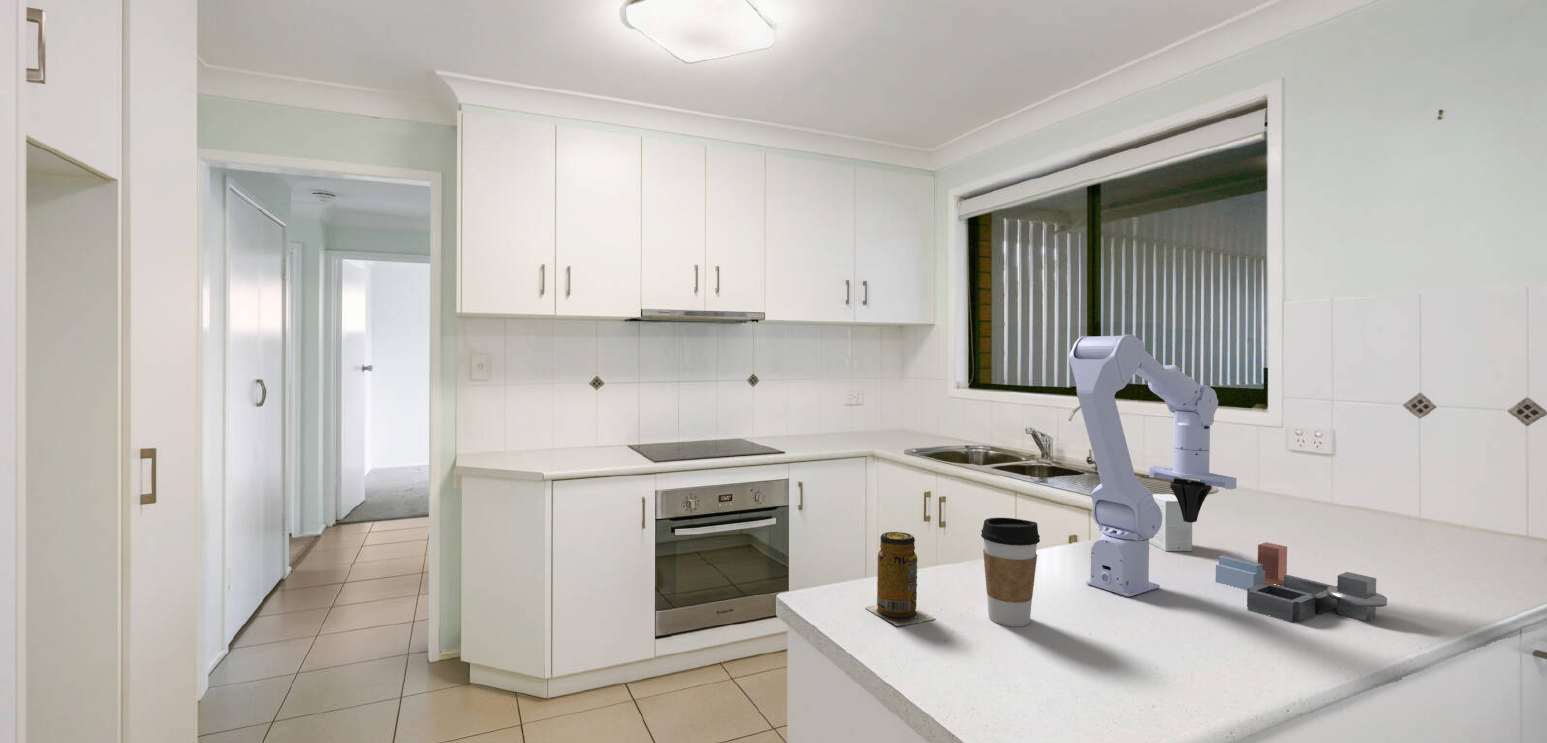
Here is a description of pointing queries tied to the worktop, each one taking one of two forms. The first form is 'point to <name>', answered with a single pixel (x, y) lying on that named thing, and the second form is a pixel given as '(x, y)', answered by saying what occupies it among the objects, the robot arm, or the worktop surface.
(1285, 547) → the reddish brown rectangular block
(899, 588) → the condiment
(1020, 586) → the coffee cup
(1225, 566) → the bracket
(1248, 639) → the worktop surface
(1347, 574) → the grey socket with disc
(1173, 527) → the small box
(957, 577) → the worktop surface
